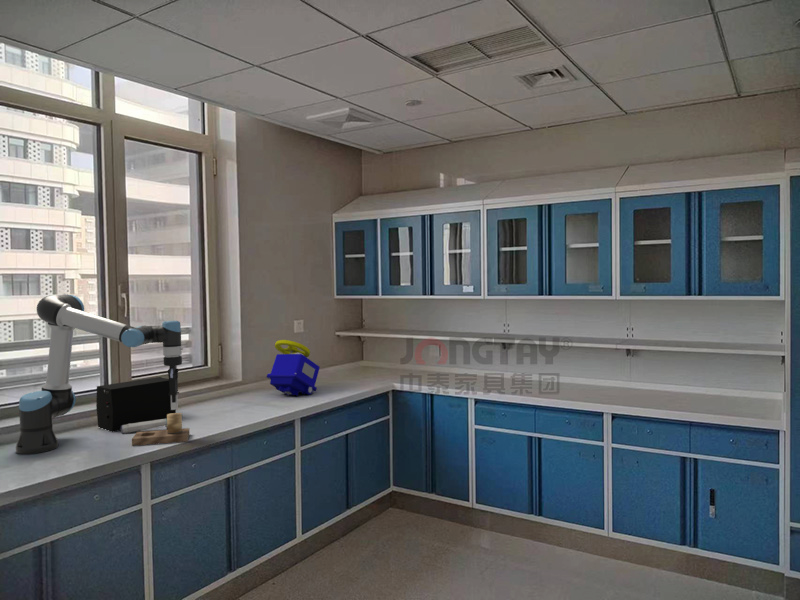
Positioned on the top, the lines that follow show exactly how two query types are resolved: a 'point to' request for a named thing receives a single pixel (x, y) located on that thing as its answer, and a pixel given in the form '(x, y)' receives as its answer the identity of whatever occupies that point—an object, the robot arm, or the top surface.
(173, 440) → the walnut board
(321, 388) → the top surface
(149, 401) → the uninterruptible power supply
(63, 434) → the top surface
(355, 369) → the top surface
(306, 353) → the control box
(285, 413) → the top surface
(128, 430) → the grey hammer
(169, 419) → the oak peg
